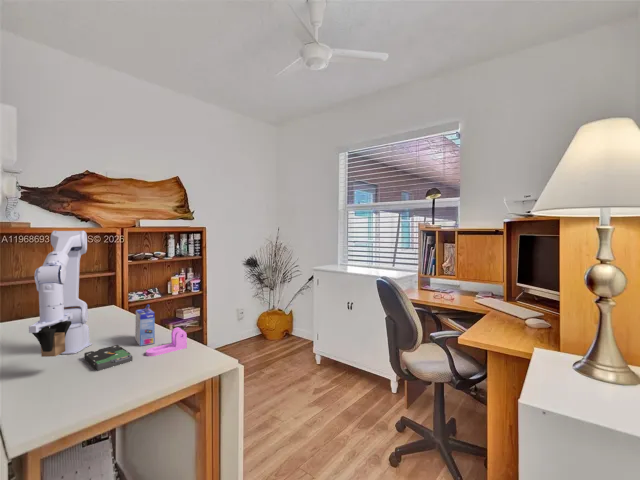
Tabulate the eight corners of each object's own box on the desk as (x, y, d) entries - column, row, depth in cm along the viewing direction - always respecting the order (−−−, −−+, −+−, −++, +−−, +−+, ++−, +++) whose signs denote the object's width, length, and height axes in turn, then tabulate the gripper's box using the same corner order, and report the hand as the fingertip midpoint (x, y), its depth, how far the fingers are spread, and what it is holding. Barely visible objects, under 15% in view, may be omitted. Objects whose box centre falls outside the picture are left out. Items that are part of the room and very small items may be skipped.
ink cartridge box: (156, 343, 122) (155, 306, 121) (139, 347, 118) (138, 308, 118) (150, 336, 129) (149, 302, 129) (135, 339, 126) (134, 304, 125)
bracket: (181, 344, 121) (181, 326, 121) (186, 348, 117) (186, 329, 117) (144, 353, 112) (143, 334, 112) (148, 358, 108) (147, 338, 108)
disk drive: (83, 361, 107) (97, 373, 98) (83, 353, 107) (96, 364, 98) (117, 351, 115) (133, 361, 106) (117, 344, 115) (133, 353, 106)
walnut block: (51, 351, 98) (51, 332, 98) (65, 351, 99) (64, 332, 98) (41, 356, 94) (40, 337, 94) (55, 356, 95) (54, 336, 94)
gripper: (46, 310, 89) (48, 357, 89) (81, 299, 103) (83, 339, 104) (20, 311, 88) (22, 358, 89) (59, 299, 103) (60, 340, 103)
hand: (53, 348), depth 96 cm, fingers closed on walnut block, 4 cm apart
